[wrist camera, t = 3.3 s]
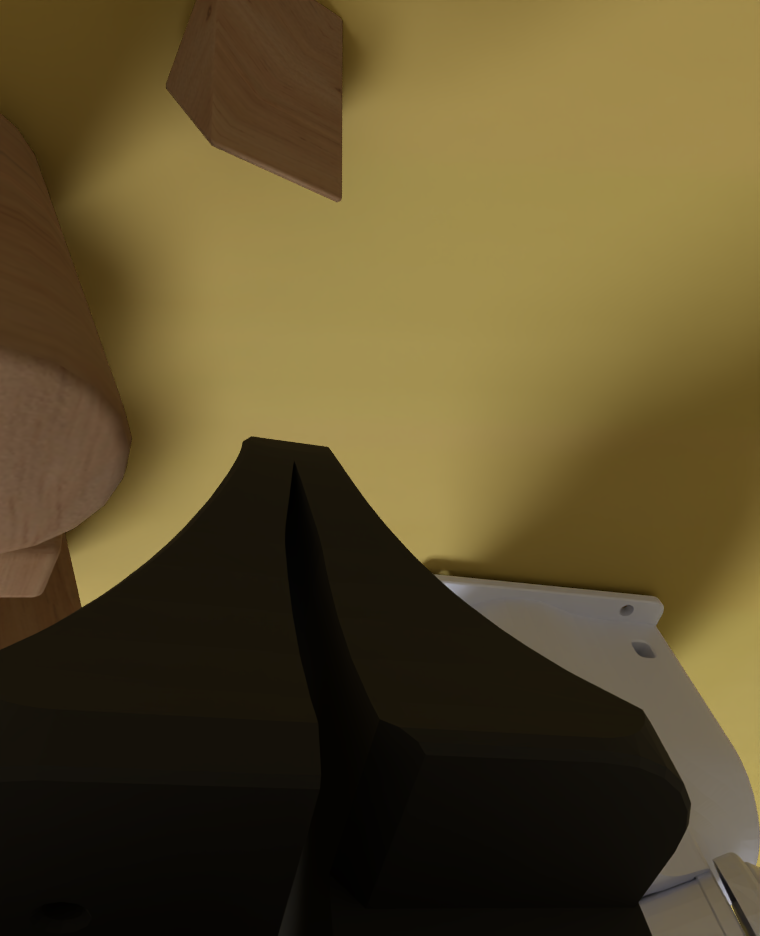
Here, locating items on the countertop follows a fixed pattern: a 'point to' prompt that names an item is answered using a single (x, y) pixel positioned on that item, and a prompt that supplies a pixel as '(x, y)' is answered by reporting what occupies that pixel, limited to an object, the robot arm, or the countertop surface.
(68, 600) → the wooden block set
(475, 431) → the countertop surface
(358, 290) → the countertop surface
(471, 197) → the countertop surface
